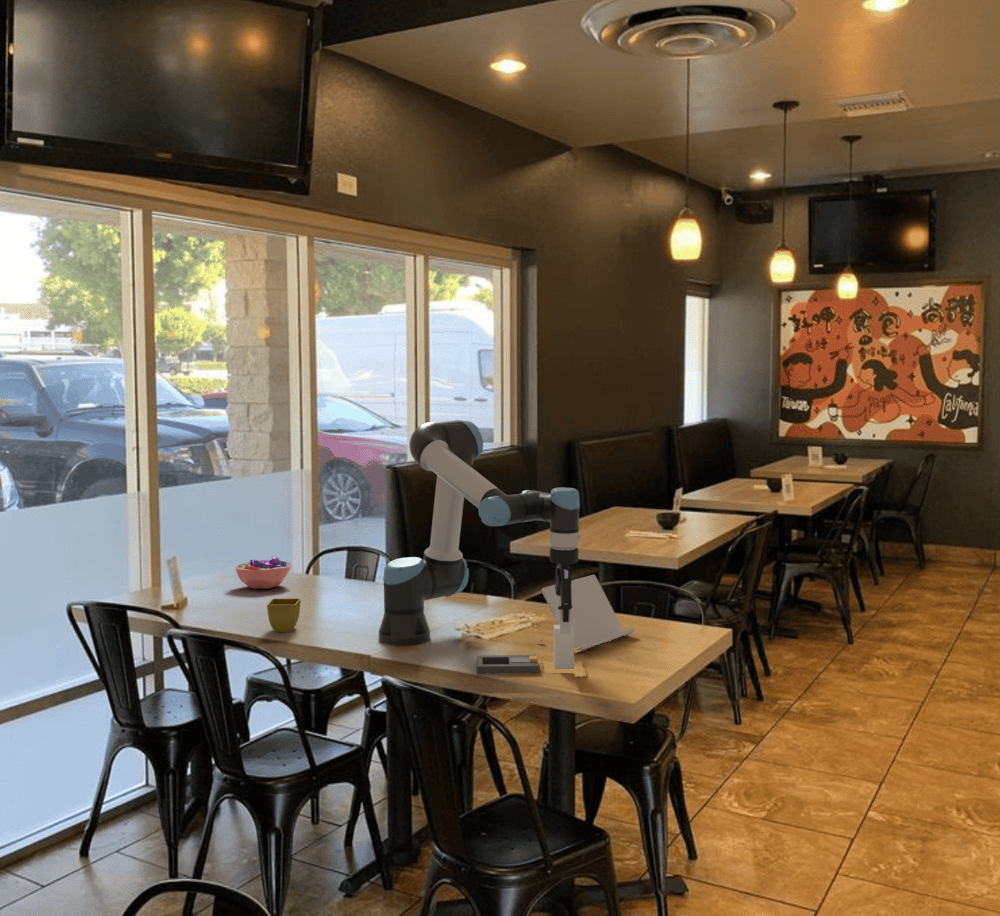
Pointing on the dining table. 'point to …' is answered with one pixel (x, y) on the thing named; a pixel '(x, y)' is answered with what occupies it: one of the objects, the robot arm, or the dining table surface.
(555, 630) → the block
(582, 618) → the tablet stand
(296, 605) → the flower pot
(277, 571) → the cell model
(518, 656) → the grey slotted tray
